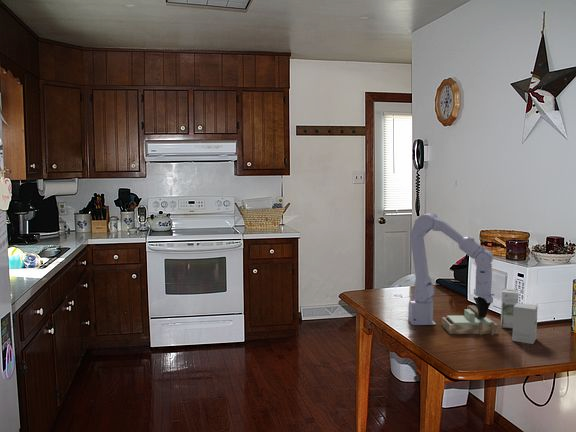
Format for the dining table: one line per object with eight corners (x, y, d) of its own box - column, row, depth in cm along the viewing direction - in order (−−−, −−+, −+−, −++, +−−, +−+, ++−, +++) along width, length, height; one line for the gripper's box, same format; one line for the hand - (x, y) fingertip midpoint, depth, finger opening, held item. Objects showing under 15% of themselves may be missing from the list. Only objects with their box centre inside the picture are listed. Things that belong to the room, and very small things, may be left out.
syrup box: (516, 325, 212) (517, 289, 211) (517, 329, 206) (518, 292, 205) (500, 323, 214) (501, 288, 212) (501, 328, 208) (502, 291, 207)
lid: (454, 324, 201) (454, 314, 201) (446, 317, 210) (447, 308, 210) (492, 324, 201) (493, 314, 201) (483, 317, 211) (483, 307, 210)
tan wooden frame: (450, 335, 200) (451, 322, 199) (440, 325, 212) (441, 313, 212) (499, 335, 200) (499, 322, 199) (486, 324, 213) (486, 313, 212)
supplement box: (534, 344, 189) (535, 309, 188) (511, 340, 193) (512, 306, 192) (536, 338, 195) (538, 304, 194) (515, 335, 199) (516, 302, 198)
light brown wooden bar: (478, 318, 205) (478, 313, 205) (467, 310, 217) (467, 305, 217) (484, 318, 205) (484, 313, 205) (473, 310, 217) (473, 305, 217)
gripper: (501, 286, 196) (500, 322, 197) (486, 277, 210) (485, 311, 211) (482, 286, 196) (481, 322, 197) (469, 277, 210) (468, 311, 211)
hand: (482, 316), depth 204 cm, fingers closed
